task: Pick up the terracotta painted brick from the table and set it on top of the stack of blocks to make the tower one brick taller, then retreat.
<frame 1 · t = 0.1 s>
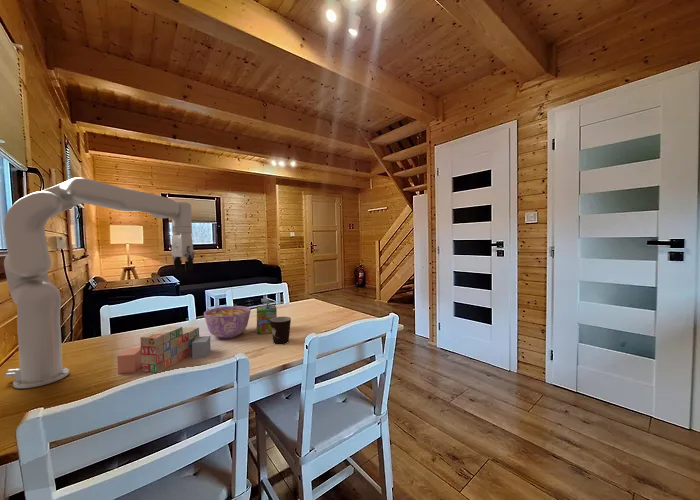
hand: (183, 269, 132), 31 cm above the table, tool pointing down, fingers open, 9 cm apart
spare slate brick: (201, 354, 117), on the table
terracotta brick: (131, 368, 105), on the table
bowl of food: (228, 336, 139), on the table
stack of blocks: (173, 360, 112), on the table
coffee mug: (280, 341, 131), on the table
juice box: (266, 331, 145), on the table
instruction sheet: (153, 355, 116), on the table
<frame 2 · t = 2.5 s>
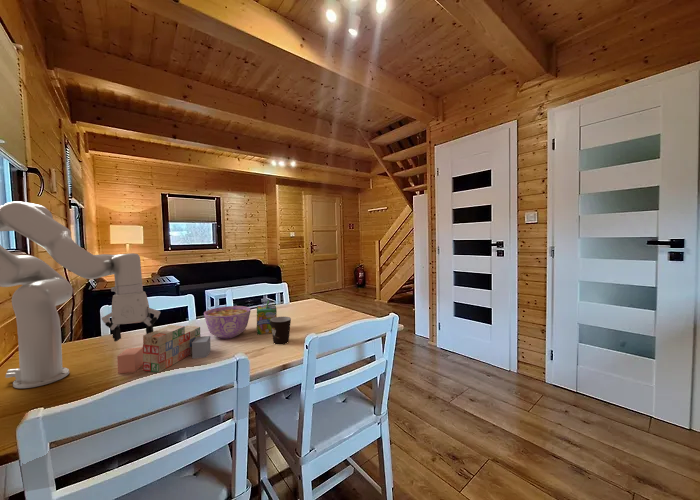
hand: (133, 338, 105), 10 cm above the table, tool pointing down, fingers open, 9 cm apart
nothing on the table moved.
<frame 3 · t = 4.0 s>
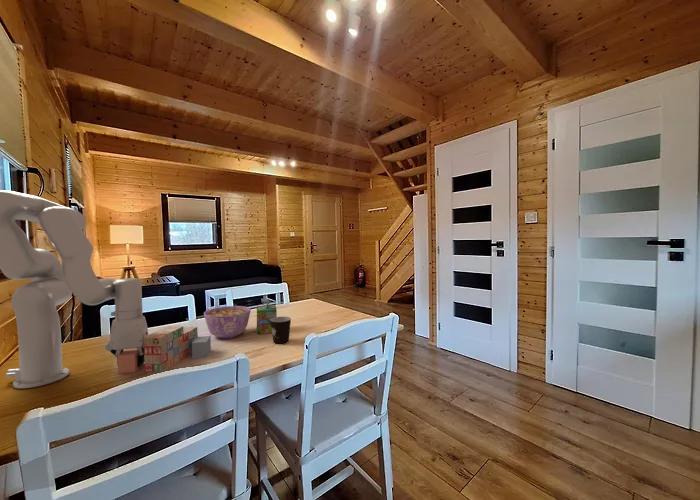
hand: (131, 365, 105), 1 cm above the table, tool pointing down, fingers closed on terracotta brick, 5 cm apart
terracotta brick: (131, 368, 105), on the table, touching gripper
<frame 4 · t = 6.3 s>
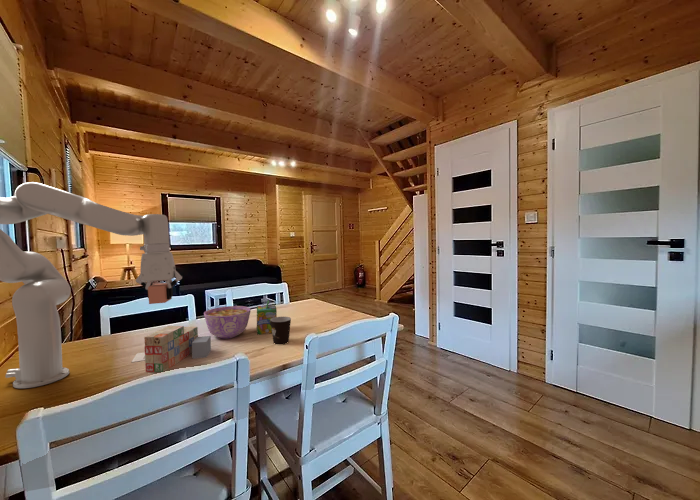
hand: (160, 298, 109), 23 cm above the table, tool pointing down, fingers closed on terracotta brick, 5 cm apart
terracotta brick: (160, 301, 109), point 22 cm above the table, touching gripper
everything else where it was.
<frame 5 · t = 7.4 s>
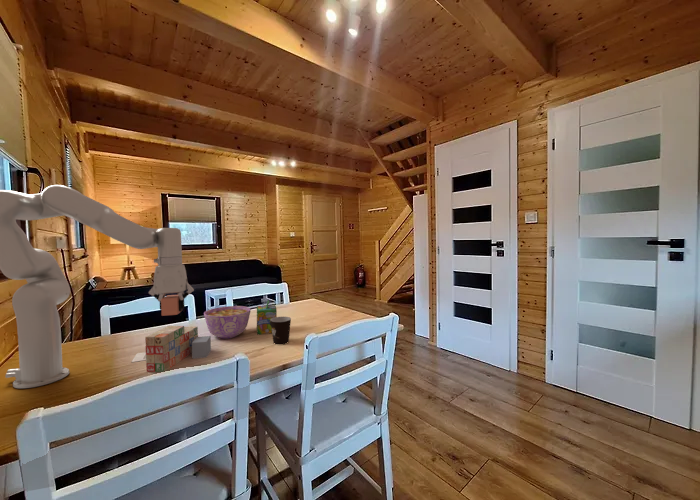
hand: (172, 310, 111), 18 cm above the table, tool pointing down, fingers closed on terracotta brick, 5 cm apart
terracotta brick: (172, 312, 111), point 18 cm above the table, touching gripper
everything else where it was.
when the fingers open (14 cm above the table, at t = 8.5 s): terracotta brick drops 1 cm, resting on stack of blocks.
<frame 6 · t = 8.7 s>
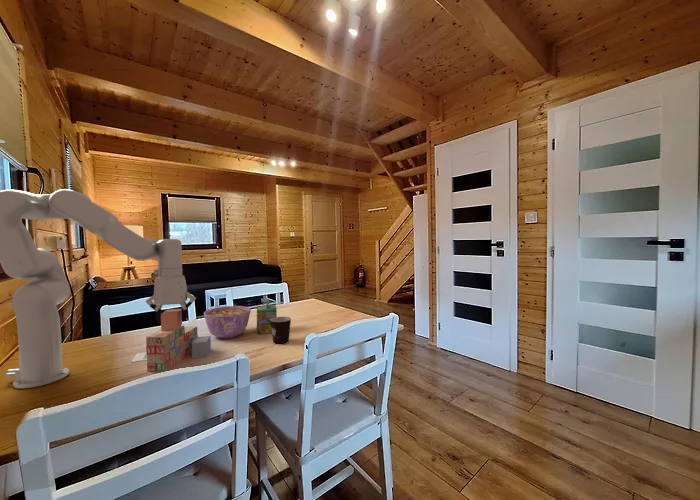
hand: (172, 320, 111), 15 cm above the table, tool pointing down, fingers open, 7 cm apart
terracotta brick: (172, 327, 111), point 12 cm above the table, touching stack of blocks
stack of blocks: (175, 359, 113), on the table, touching terracotta brick
everything else where it was.
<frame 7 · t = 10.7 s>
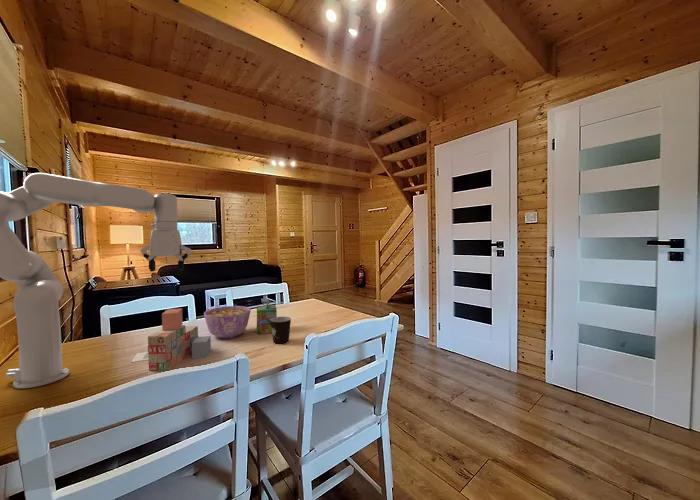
hand: (166, 271, 116), 32 cm above the table, tool pointing down, fingers open, 9 cm apart
terracotta brick: (172, 327, 112), point 12 cm above the table
stack of blocks: (176, 359, 113), on the table
everything else where it was.
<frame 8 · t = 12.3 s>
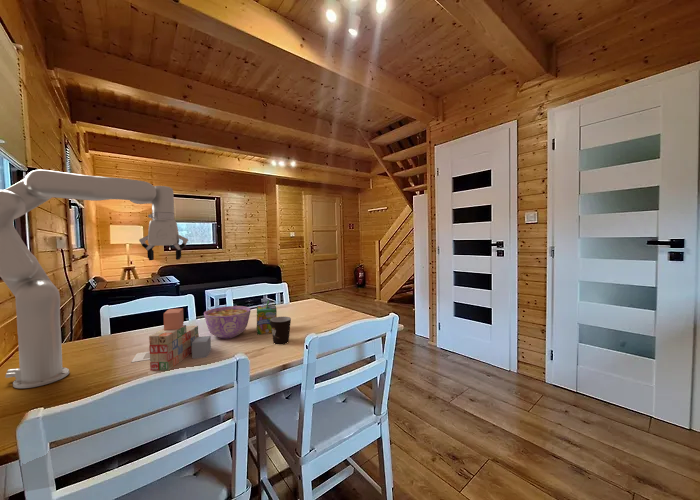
hand: (164, 259, 122), 36 cm above the table, tool pointing down, fingers open, 9 cm apart
terracotta brick: (174, 326, 112), point 12 cm above the table, touching stack of blocks
stack of blocks: (176, 358, 113), on the table, touching terracotta brick
everything else where it was.
at the end: terracotta brick inside the target area on the stack of blocks (0.9 cm from its centre), point 12.5 cm above the stack of blocks's base; terracotta brick tilted 0°; the gripper is holding nothing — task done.
